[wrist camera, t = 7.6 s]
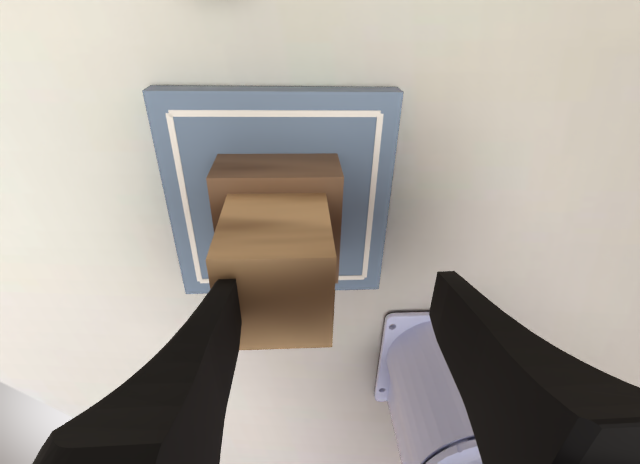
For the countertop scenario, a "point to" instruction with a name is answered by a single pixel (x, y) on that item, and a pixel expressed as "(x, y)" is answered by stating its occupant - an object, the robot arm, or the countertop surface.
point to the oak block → (278, 267)
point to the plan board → (278, 140)
